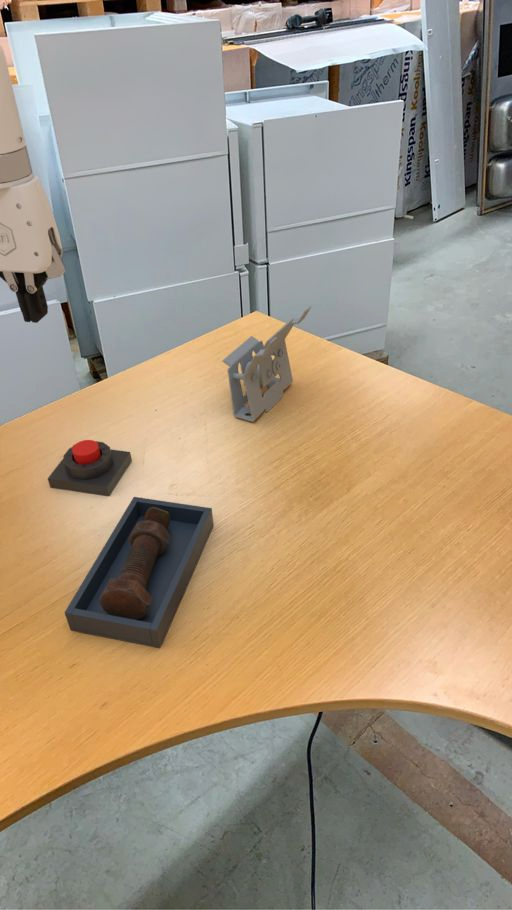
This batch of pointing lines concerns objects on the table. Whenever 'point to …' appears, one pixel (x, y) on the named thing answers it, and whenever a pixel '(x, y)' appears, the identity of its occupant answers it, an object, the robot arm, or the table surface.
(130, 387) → the table surface
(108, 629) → the tray
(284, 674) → the table surface
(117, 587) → the bolt
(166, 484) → the table surface
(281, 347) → the bracket
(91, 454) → the power button
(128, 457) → the station
